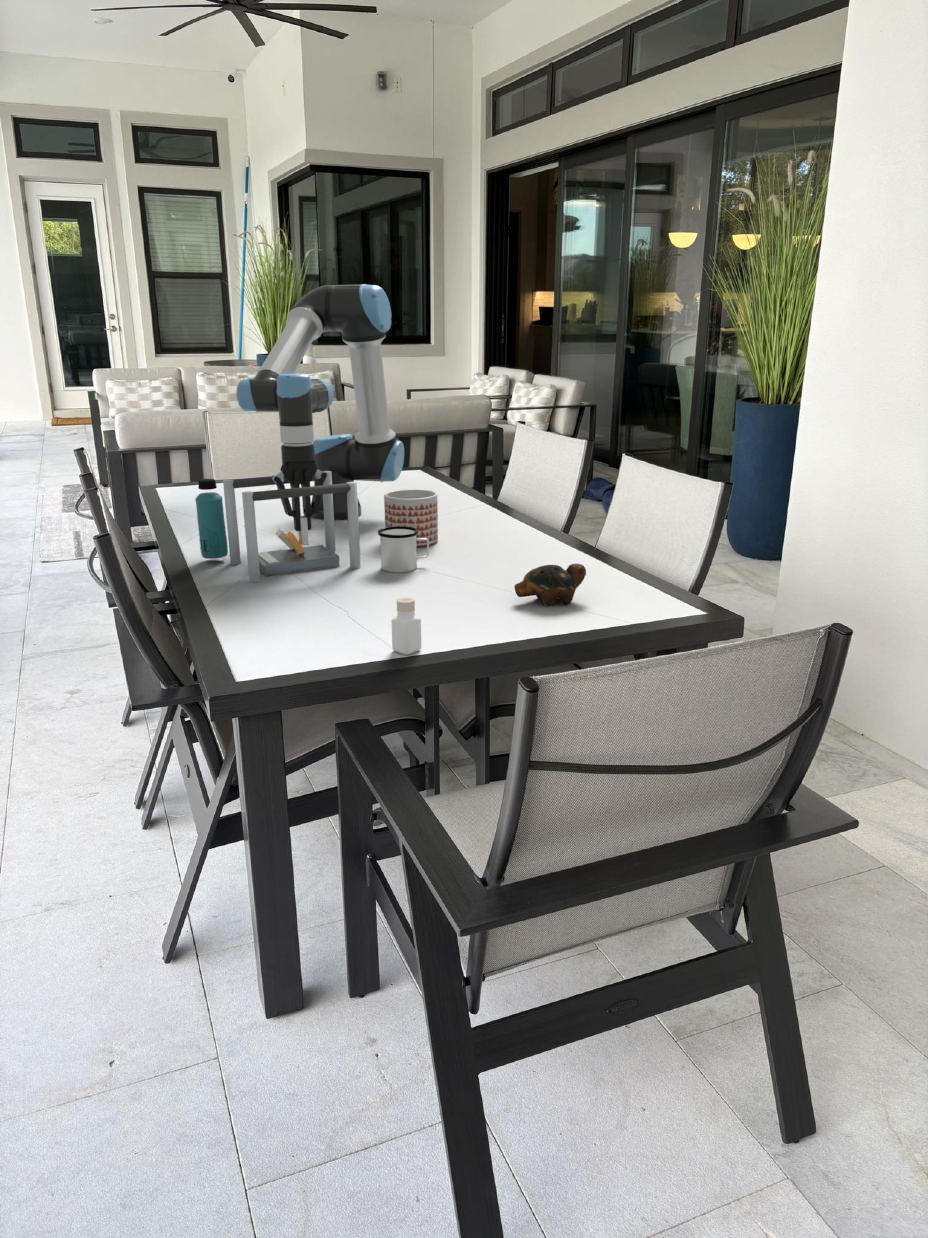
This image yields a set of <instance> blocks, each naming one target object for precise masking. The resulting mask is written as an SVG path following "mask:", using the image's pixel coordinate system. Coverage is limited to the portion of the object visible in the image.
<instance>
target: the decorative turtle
mask: <svg viewBox="0 0 928 1238" xmlns="http://www.w3.org/2000/svg"><path fill="white" fill-rule="evenodd" d="M586 576H587V569H586V567H585V566H584V564H581V563H571V564H569V565H568V566H567V568H566V569H564V568H563V567H562V566H560V565H558V564H545V565H540V566H538V567H536V568H535V567H534V568H533V569H531V570H529V571H528V572H526V574H525V575H524V576H523V579H522V580H521V581H520V582H518V583H516V584H514V587H513V589H514V591H515V594H516V595H517V597H519V598H525V597H526V598H527V597H532V596H536V598H537V599H539V600H541V601H542V604H543V605H545V606H546V607H549V606H551V605H552V604H553V603H554V602H555V601H556V600H557V599H559V600H560V601H561V603H563V604H564V605H566V606H568V605H570V604H571V603H572V601H573V599H574V596H575V593H576V590H577V589H578V588H579V586H580V585H581V584H582V583H583V581H584V579H586Z"/></svg>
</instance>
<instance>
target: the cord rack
mask: <svg viewBox="0 0 928 1238" xmlns="http://www.w3.org/2000/svg"><path fill="white" fill-rule="evenodd" d="M323 472H325V473H327V477H326V479H325V481H324V483H323V485H322V486H314V485H313V486H311V485H310V487H300V488H291V487H290V488H285V489H279V490H278V489H269V490H268V489H267V490H260V491H259V490H258V491H242V492H241V495H242V496H241V498H242V508H243V509H242V510H243V519H244V520H243V521H244V533H245V543H246V544H245V545H246V555H247V557H246V558H247V568H248V578H249V579H248V580H249V583H259V582H261V572H260V569H259V557H258V553H259V549H258V545H259V544H258V534H257V533H258V532H257V522H256V510H255V502H260V501H261V502H262V501H267V500H268V501H269V500H281V498H291V499H292V497H300V498H302V496H310V497H311V496H312V497H313V495H322V494H323V507H324V519H323V523H324V539H325V547H326V548H328V549H329V550H331V551H332V552H334V553H335V552H336V537H335V536H336V534H335V533H336V532H335V520H334V511H333V493H342V492H347V508H348V519H347V528H348V529H347V530H348V546H349V547H348V548H349V549H348V550H349V551H348V552H349V568H351V569H360V568H361V550H360V549H361V548H360V547H361V545H360V528H359V527H360V526H359V525H360V524H359V516H358V499H359V498H357V497H358V482H357V481H354V482H347V483H343V484H333V485H332V473H331V471H323ZM272 476H273V475H272ZM272 476H263V477H251V478H250V477H249V478H238V479H227V478H226V479H222V484H223V496H224V505H225V516H226V529H227V538H228V539H227V541H228V552H229V558H230V559H229V560H230V564H231V565H233V566H234V565H236V566H237V565H240V564H242V560H241V550H240V539H239V538H240V537H239V535H240V534H239V526H238V516H237V515H238V512H237V503H236V491H235V489H240V488H241V489H243V488H252V487H253V488H256V487H264V486H265V487H266V486H275V485H276V484H275V483H274V481H273V480H272ZM283 478H284V482H283V484H284V485H287V484H288V485H289V484H290V482H289V481H288V480H287V479H286V478H285V476H283ZM315 480H316V478H315V475H314V476H313V478H312V480H311V481H310V483H311V482H314V481H315ZM276 486H277V485H276Z"/></svg>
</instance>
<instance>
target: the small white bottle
mask: <svg viewBox="0 0 928 1238" xmlns="http://www.w3.org/2000/svg"><path fill="white" fill-rule="evenodd" d="M415 601H416V600H415V598H413V597H408V596H406V597H403V596H402V597H399V598H397V599H396V613H397V614H396V616H394V617H393V618H392V619H391V643H392V645H391V646H392V651H394V652H397V653H400V654H402V655H404V656H405V655H407V656H408V655H411V654H413V653H416V652H418V651H419V652H420V651H421V650H422V619H421V618H420V617H419V616H418V615H415V614H416V613H415V611H416V606H415V605H416V603H415Z"/></svg>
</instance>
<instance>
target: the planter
mask: <svg viewBox="0 0 928 1238" xmlns="http://www.w3.org/2000/svg"><path fill="white" fill-rule="evenodd" d="M383 499H384V500H383V501H384V503H383V505H384V528H385V527H392V526H407V527H413V528H416V529H418V531H419V533H418V534H417V535H416V538H426V539H428V541H429V547H430V546H434V545H436V544H437V543H438V541H439V529H438V528H439V526H438V525H439V523H438V522H439V520H438V519H439V516H438V515H439V513H438V509H439V508H438V506H439V505H438V493H437V492H436V491H433V490H427V489H416V488H414V489H413V488H412V489H399V490H392V491H387V492H385V493H384V495H383ZM416 546H417V549H418V548H427V541H426V540H422V541H416Z"/></svg>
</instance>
